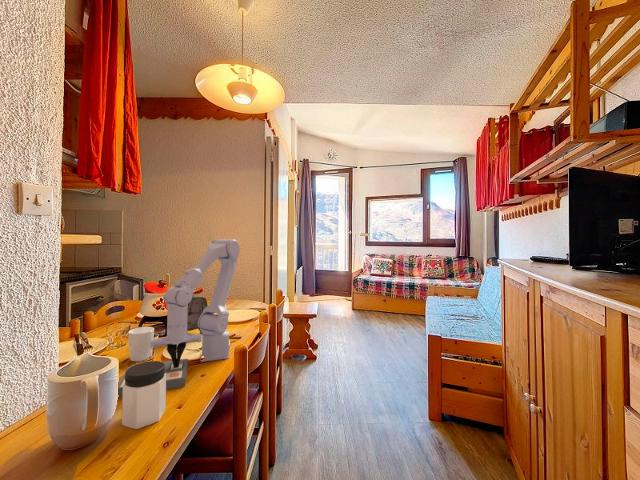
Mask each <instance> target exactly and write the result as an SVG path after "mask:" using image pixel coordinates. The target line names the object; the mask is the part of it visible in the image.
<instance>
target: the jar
mask: <svg viewBox="0 0 640 480" xmlns="http://www.w3.org/2000/svg"><path fill="white" fill-rule="evenodd" d="M163 362H164V361H158V360H149V361H142V362H139V363H137V364H135V365H134V364H133V365H131V366H132V367H130V368H129V369H128V370H127V369H126V370H127V371H126V370H125V372H124V373H125V384H124V385H123V397H122V404H121V405H122V407H121V408H122V409H121V410H122V412H121V413H122V414H121V415H122V416H121V425H122V426H123V427H127V428H129V429H130V428H131V429H134V430H139V429H142V428H144V427H147V426H149V425H150V426H151V425H152V424H155V423H157V422H159V421H160V420H161V418H162V417H163V414H164V412H165V411H166V401H167V400H166V399H167V398H166V395H167V389H166V373H165V364H164V363H163Z"/></svg>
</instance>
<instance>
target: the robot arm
mask: <svg viewBox="0 0 640 480" xmlns="http://www.w3.org/2000/svg"><path fill="white" fill-rule="evenodd" d="M207 248H208V249H207V250H206V251H205V253H204V254H203V256H202V257H201V258H200V260H199V261H198V262H197V263H196V265H195V267H193V268H192V267H191V268H188V269H186V270H185V271H184V274H183V275H182V276H181V277H180V279H179V280H178V281H176V283H175V284H174V285H173V286H171V287H169V288H168V289H167V290H166V291H165V293H164V296H163V297H162V299H163V301H164V302H165V305H166V309H167V317H166V318H167V323H166V325H167V326H166V336H165V337H159V338H154V339H153V340H151V342H150V348H152V349H153V348H155V347H161V346H162V347H163V346H166V351H167V353H168V355H169V356H170V359H171V361H172V362H173V366H174V368H178V367H179V362H180V360H181V359H182V355H183V353H184V351H185V349H186V347H187V344H188V343H202V344H201V352H202V356H204V357H206V358H205V359H203V360H201V359H200V362H201V363H205V362H209V361H210V362H212V361H218V360H226V359H229V358H230V355H229V353H230V333H229V332H230V331H229V330H227V329H228V327H229V315H230V313H229V311H228V310H227V308H226V304H227V302H228V297H229V294H230V291H231V290H230V289H231V286H232V283H233V279H234V276H235V272H236V268H237V265H238V258H239V254H240V252H241V251H240V250H241V246H240V244H239V241H237V239H234V238H230V239H227V238H223V239H222V238H214V239H212V241H211V242H210V243H209V244H208V245H207ZM216 260H217V261H219V262H220V265H221V267H220V269H219V274H218V277H217V279H216V284H215V287H214V289H213V294H212V297H211V300H210V303H209V305H207V307H206V308H205V309H204V310H203V313H202V315H201V316H200V317H199V320H198V327H199V328H200V329H201V333H202V334H200V333H199V334H188V333H187V332H188V331H187V311H188V303H189V302H190V301H191V300H192V295H193V293H194V294H195V290H196V289H197V288H198V286H199V285H200V283H201V282H202V281H203V280H204V273H205V272H206V271H207V270H208V269H209V268H210V267H211V266H212V264H213V263H215V261H216Z"/></svg>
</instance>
